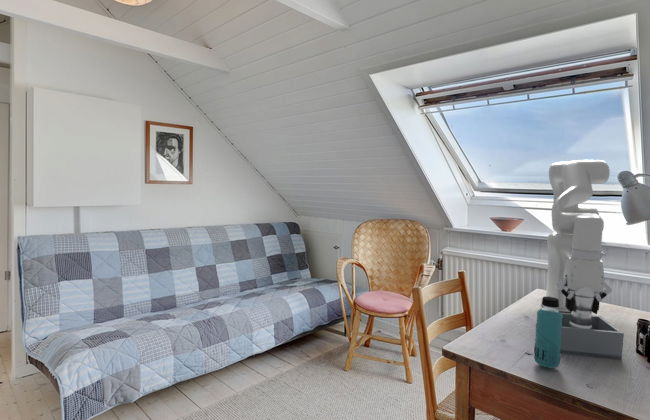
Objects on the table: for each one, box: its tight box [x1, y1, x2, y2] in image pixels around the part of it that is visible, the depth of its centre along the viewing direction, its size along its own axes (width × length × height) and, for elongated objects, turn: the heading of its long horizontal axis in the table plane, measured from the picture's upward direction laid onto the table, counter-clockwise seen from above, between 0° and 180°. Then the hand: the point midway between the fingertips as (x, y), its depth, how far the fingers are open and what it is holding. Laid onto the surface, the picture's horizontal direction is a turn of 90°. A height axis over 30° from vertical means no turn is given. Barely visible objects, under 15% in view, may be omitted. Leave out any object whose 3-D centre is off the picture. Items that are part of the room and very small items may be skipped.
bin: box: [560, 312, 625, 361], centre depth 124 cm, size 15×17×8 cm
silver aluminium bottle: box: [568, 287, 595, 329], centre depth 124 cm, size 6×7×20 cm
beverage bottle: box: [533, 296, 563, 369], centre depth 109 cm, size 6×7×20 cm
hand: (581, 310), depth 124 cm, fingers closed on silver aluminium bottle, 6 cm apart
